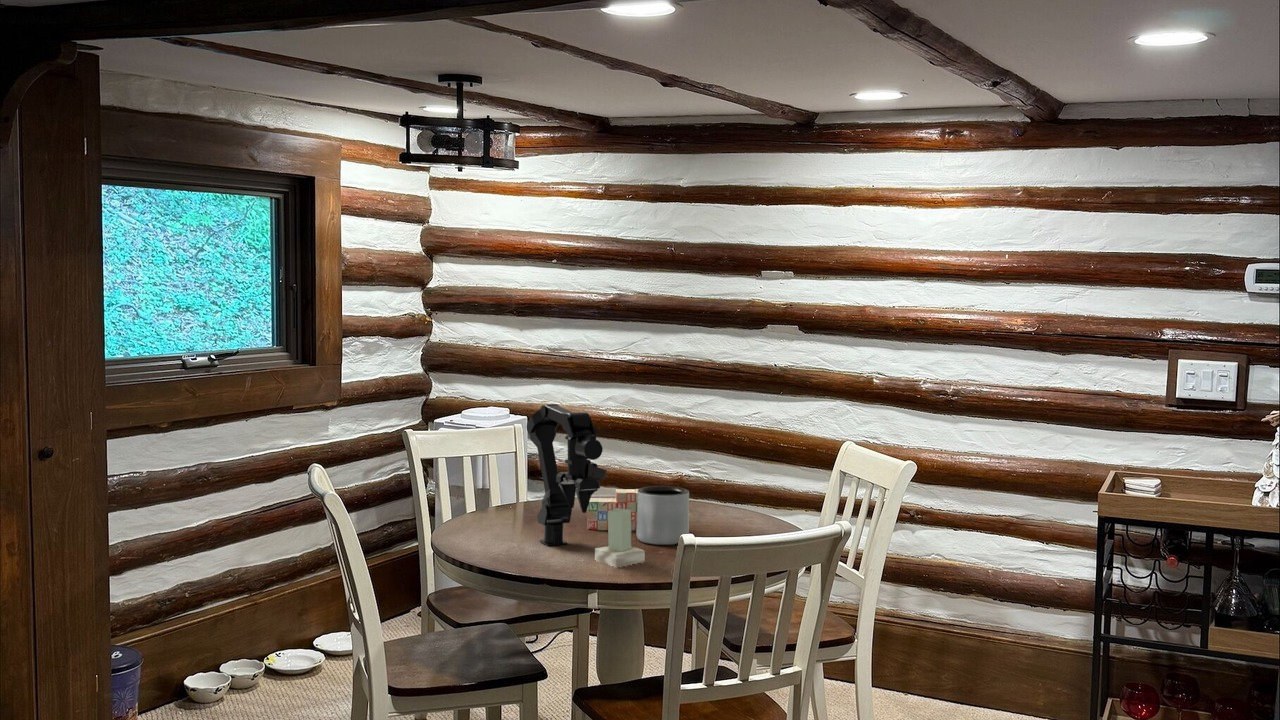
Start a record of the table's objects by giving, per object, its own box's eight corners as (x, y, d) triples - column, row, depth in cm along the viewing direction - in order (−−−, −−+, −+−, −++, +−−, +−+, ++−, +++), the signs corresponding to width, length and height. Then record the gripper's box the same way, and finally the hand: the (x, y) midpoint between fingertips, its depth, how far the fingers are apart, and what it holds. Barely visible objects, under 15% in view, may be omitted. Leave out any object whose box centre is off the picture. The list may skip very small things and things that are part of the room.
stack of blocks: (587, 530, 355) (588, 492, 354) (587, 526, 361) (587, 488, 360) (654, 530, 356) (655, 492, 355) (653, 526, 362) (653, 489, 361)
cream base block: (594, 562, 316) (595, 548, 315) (622, 557, 322) (622, 543, 322) (616, 569, 308) (616, 555, 308) (644, 564, 314) (644, 550, 314)
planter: (682, 534, 351) (683, 485, 350) (693, 545, 336) (694, 494, 335) (632, 535, 349) (633, 485, 348) (641, 547, 333) (642, 495, 332)
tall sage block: (608, 549, 314) (608, 511, 313) (617, 546, 318) (617, 508, 317) (622, 551, 312) (621, 512, 311) (631, 548, 315) (630, 509, 315)
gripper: (616, 458, 315) (617, 513, 316) (590, 451, 332) (590, 503, 333) (580, 460, 311) (580, 516, 311) (555, 453, 327) (555, 506, 328)
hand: (577, 510), depth 321 cm, fingers open, 9 cm apart
